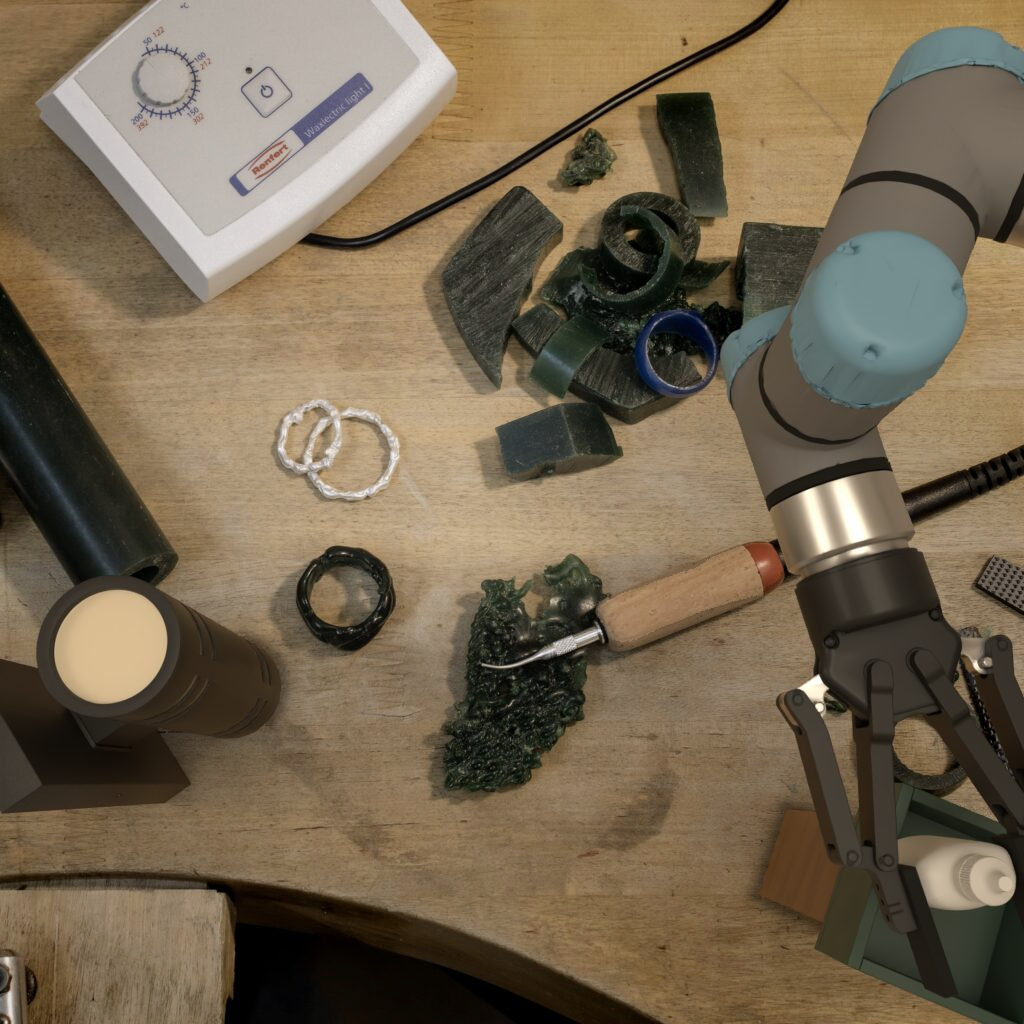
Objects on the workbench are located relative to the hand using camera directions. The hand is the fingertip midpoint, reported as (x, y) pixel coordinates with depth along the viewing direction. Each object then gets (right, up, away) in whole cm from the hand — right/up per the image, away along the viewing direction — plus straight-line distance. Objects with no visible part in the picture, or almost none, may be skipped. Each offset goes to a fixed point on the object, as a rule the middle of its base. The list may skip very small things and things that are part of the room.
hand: (996, 974), depth 56 cm
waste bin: (+2, -1, +15) cm, 15 cm away
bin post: (+1, -8, +39) cm, 40 cm away
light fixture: (-54, +6, +42) cm, 69 cm away
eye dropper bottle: (-1, +3, +8) cm, 9 cm away
